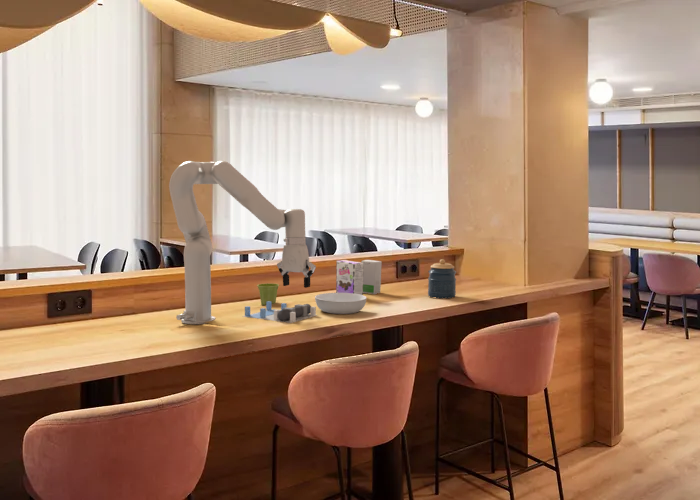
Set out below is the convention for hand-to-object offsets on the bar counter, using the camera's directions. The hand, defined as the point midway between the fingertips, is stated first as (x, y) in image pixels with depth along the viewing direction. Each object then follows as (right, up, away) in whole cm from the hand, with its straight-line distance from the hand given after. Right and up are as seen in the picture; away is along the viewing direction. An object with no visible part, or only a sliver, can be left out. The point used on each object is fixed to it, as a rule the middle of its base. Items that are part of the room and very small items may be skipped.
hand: (296, 286), depth 264 cm
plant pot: (-15, -10, +34) cm, 38 cm away
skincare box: (+30, -7, +69) cm, 75 cm away
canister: (+63, -8, +60) cm, 87 cm away
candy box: (+20, -8, +57) cm, 61 cm away
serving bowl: (+17, -12, +17) cm, 26 cm away
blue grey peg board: (-7, -13, +5) cm, 15 cm away
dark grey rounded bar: (-1, -12, +1) cm, 12 cm away
